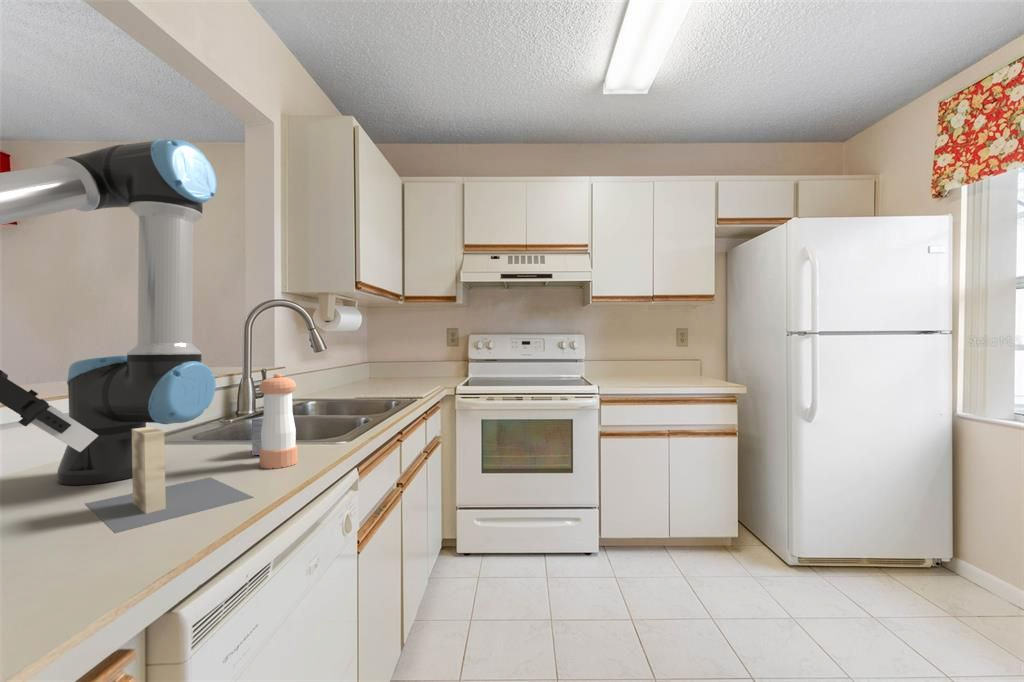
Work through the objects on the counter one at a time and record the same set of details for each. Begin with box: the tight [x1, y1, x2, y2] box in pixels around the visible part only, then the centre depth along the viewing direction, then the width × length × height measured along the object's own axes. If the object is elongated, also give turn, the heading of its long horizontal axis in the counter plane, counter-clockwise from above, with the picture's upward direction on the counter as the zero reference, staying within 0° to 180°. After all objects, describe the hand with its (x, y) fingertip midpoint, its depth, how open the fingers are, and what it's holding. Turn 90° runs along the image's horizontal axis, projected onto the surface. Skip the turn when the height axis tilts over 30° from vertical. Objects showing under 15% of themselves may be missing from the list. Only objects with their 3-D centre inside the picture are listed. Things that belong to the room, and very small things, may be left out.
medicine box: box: [251, 415, 264, 457], centre depth 112 cm, size 8×4×9 cm, turn 168°
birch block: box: [132, 426, 166, 513], centre depth 75 cm, size 7×2×12 cm, turn 51°
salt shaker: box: [258, 373, 299, 470], centre depth 101 cm, size 7×7×19 cm
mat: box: [84, 477, 255, 534], centre depth 78 cm, size 19×18×1 cm
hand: (79, 437), depth 69 cm, fingers open, 13 cm apart
